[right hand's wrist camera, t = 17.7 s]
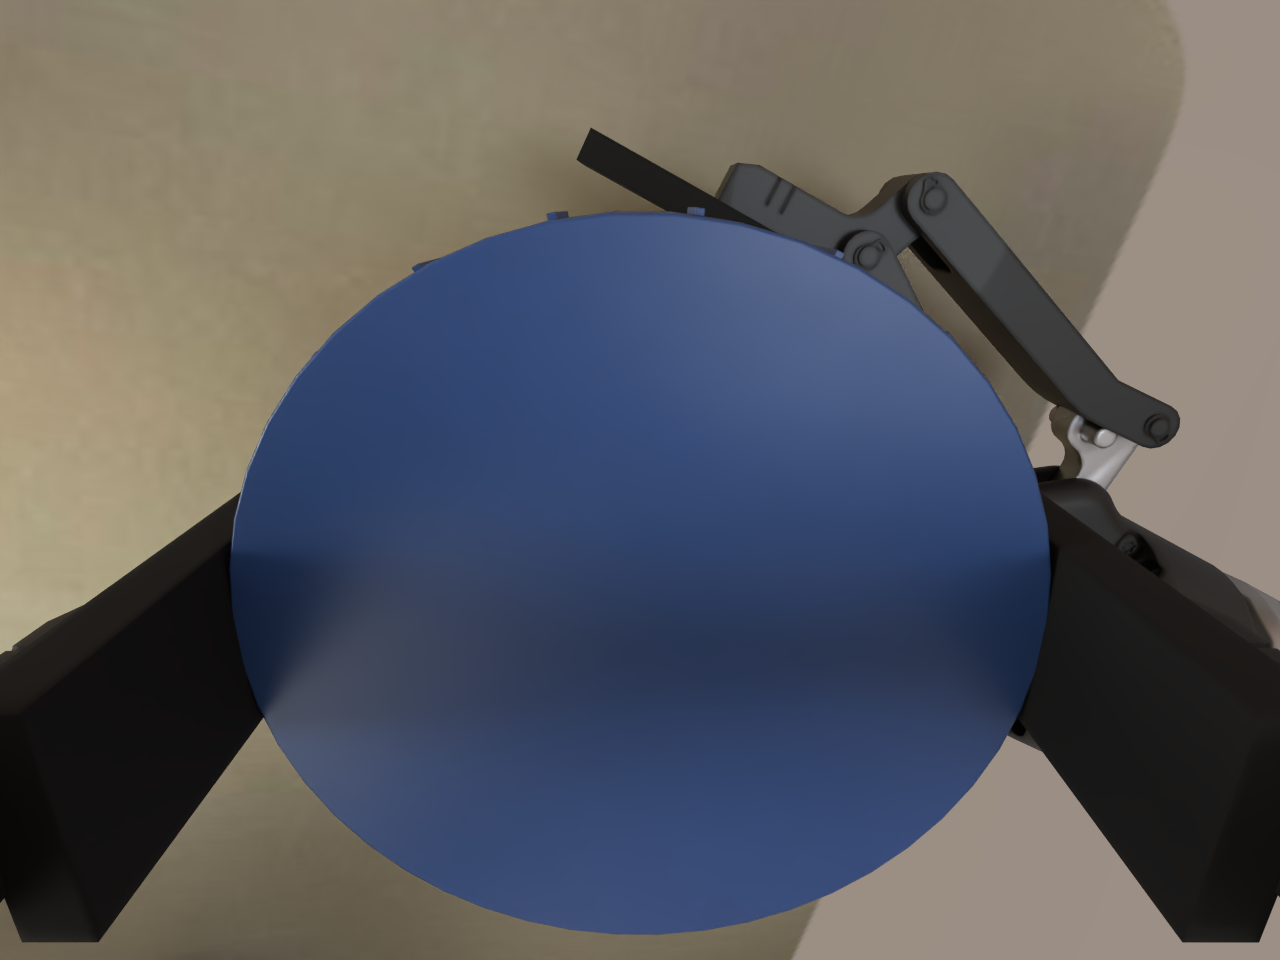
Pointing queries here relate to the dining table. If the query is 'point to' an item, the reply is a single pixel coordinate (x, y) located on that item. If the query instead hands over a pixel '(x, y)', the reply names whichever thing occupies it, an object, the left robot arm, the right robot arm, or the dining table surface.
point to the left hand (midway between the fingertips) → (498, 343)
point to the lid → (640, 572)
